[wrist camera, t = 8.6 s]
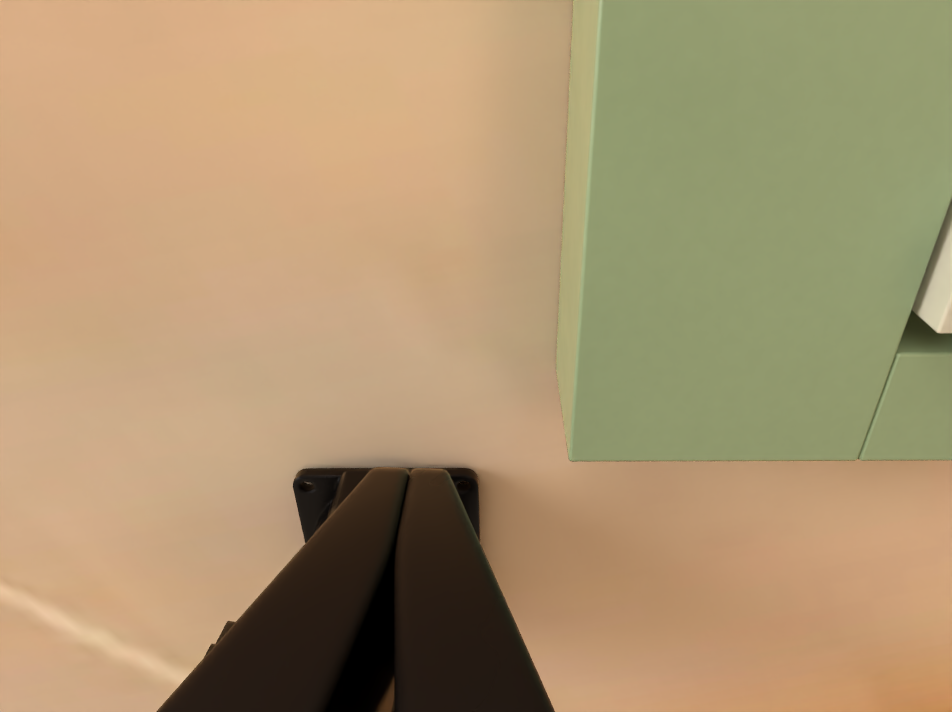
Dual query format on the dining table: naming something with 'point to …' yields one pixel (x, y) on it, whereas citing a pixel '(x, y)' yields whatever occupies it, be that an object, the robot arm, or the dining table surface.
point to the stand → (754, 230)
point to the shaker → (938, 282)
